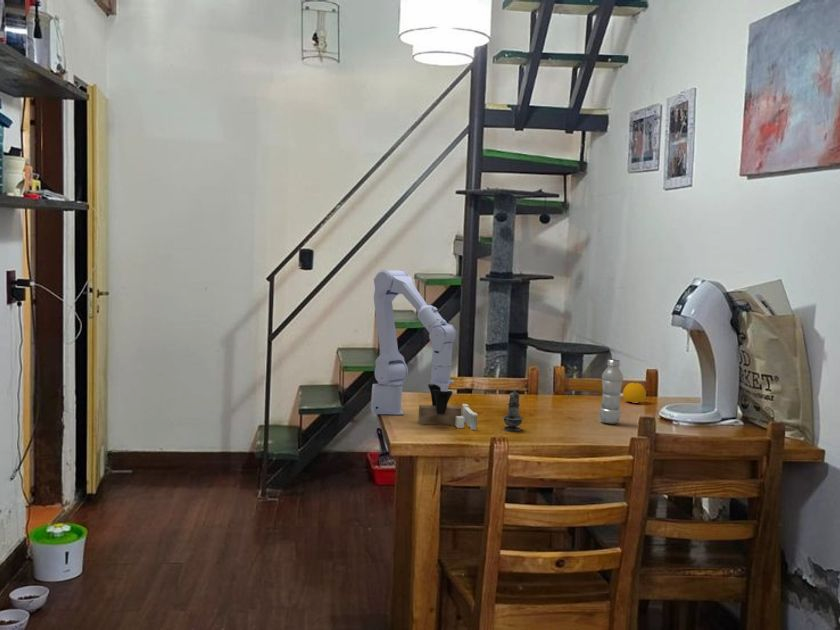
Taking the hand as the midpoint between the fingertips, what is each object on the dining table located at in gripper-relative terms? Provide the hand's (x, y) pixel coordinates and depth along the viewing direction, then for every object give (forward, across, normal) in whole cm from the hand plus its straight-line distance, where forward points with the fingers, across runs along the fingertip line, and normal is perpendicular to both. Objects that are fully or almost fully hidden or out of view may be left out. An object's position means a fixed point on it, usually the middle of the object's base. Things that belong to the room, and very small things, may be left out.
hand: (438, 411), depth 240 cm
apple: (+4, +40, -78) cm, 88 cm away
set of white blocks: (+4, 0, -7) cm, 8 cm away
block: (+4, 0, 0) cm, 4 cm away
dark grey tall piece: (+4, -6, -21) cm, 22 cm away
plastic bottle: (+4, +5, -55) cm, 55 cm away
